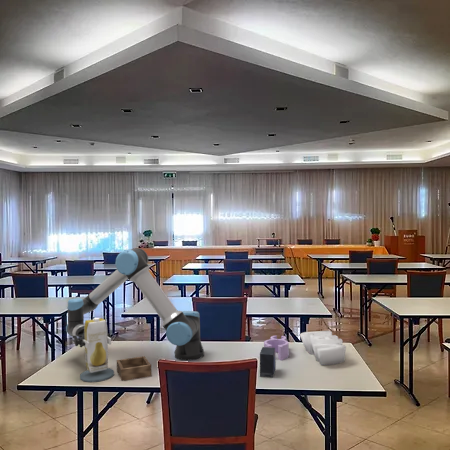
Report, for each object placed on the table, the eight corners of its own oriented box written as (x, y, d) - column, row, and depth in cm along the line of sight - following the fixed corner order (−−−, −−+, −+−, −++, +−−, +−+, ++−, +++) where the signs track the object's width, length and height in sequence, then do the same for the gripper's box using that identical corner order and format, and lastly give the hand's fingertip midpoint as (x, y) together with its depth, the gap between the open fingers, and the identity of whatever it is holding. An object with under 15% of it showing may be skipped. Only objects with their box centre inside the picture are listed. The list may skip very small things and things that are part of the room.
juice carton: (89, 374, 198) (87, 320, 197) (84, 369, 205) (82, 317, 204) (109, 369, 203) (108, 317, 203) (104, 365, 210) (102, 314, 209)
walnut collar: (145, 366, 215) (144, 356, 215) (151, 376, 202) (151, 365, 202) (116, 370, 210) (116, 360, 210) (121, 380, 197) (121, 369, 197)
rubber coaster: (111, 368, 214) (111, 365, 214) (116, 378, 200) (116, 376, 200) (79, 373, 208) (79, 370, 208) (81, 384, 194) (81, 381, 194)
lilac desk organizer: (267, 347, 240) (267, 335, 240) (291, 348, 237) (290, 336, 237) (262, 359, 221) (261, 346, 221) (287, 361, 218) (286, 347, 218)
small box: (274, 377, 196) (273, 354, 196) (259, 377, 197) (259, 353, 197) (276, 369, 206) (275, 347, 206) (262, 368, 208) (261, 346, 207)
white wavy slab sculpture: (350, 367, 207) (350, 344, 206) (316, 369, 205) (315, 346, 205) (328, 345, 241) (327, 326, 241) (298, 346, 240) (297, 327, 240)
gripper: (104, 337, 225) (122, 346, 207) (60, 345, 211) (75, 357, 193) (104, 322, 224) (122, 330, 207) (59, 329, 211) (74, 339, 193)
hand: (99, 343), depth 200 cm, fingers closed on juice carton, 9 cm apart
